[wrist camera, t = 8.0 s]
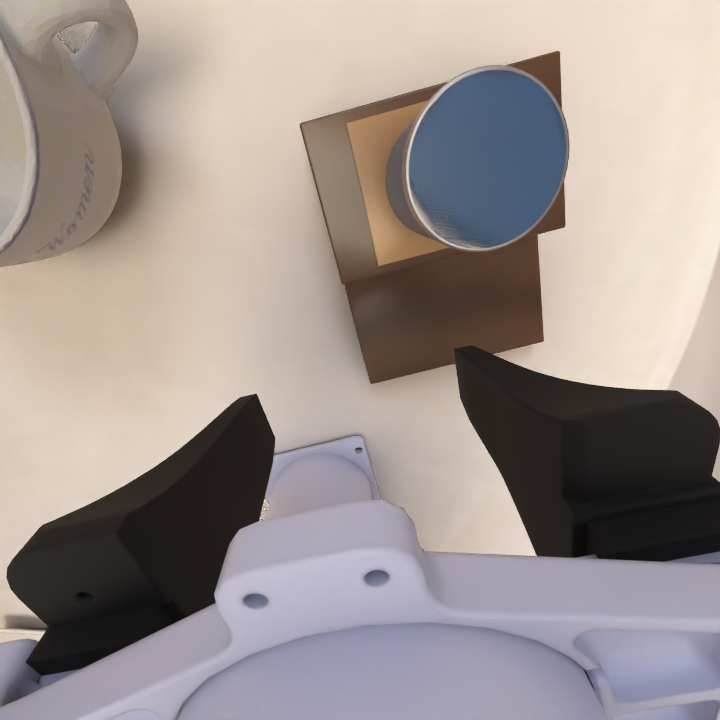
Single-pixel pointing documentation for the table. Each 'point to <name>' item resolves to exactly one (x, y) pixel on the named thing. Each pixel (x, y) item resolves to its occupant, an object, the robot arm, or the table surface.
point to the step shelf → (419, 248)
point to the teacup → (58, 124)
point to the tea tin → (480, 160)
